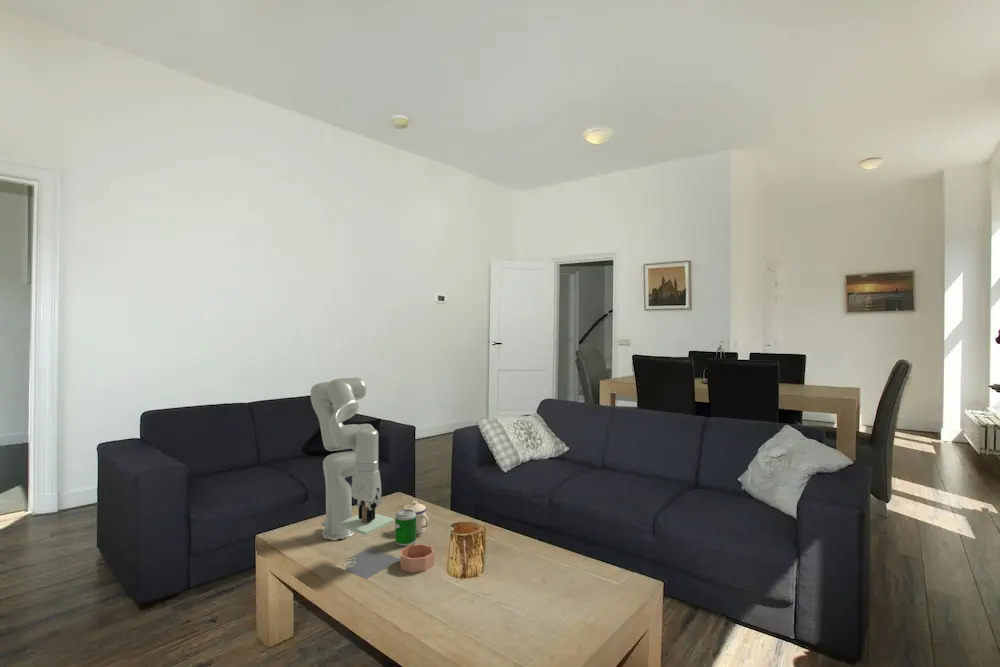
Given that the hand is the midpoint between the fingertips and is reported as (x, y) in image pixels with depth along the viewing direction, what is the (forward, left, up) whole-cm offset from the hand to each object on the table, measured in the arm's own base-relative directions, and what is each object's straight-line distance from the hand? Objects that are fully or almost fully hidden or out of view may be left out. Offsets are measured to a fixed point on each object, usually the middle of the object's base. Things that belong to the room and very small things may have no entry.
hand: (366, 518), depth 178 cm
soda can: (+1, +19, -16) cm, 24 cm away
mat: (+1, 0, -16) cm, 16 cm away
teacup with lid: (-3, +30, -16) cm, 34 cm away
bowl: (+16, +8, -16) cm, 23 cm away
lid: (0, 0, -2) cm, 2 cm away
